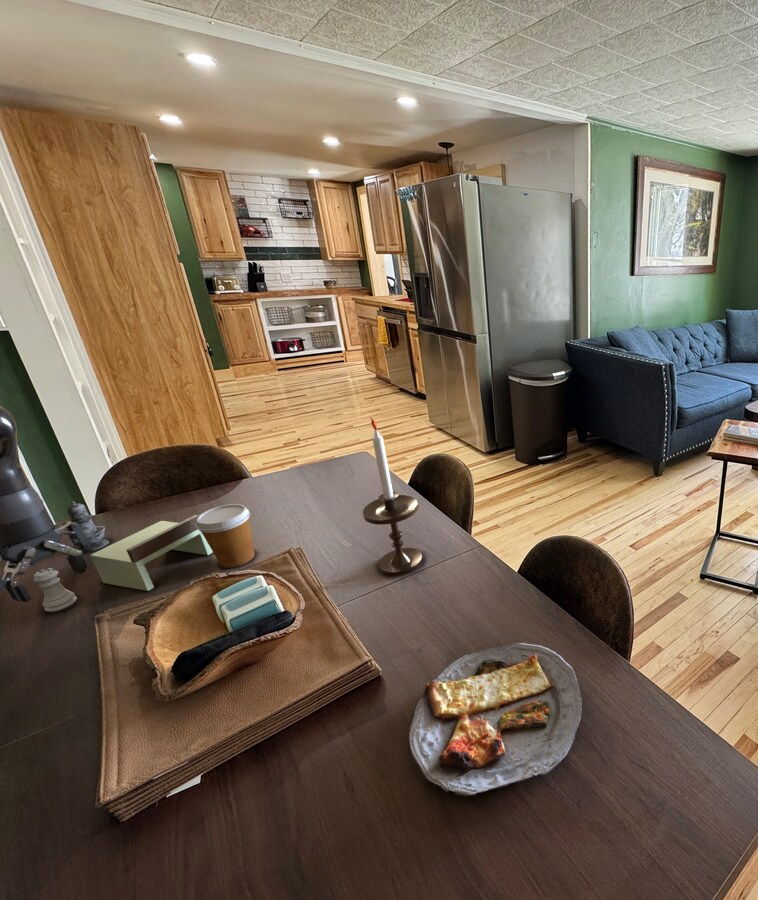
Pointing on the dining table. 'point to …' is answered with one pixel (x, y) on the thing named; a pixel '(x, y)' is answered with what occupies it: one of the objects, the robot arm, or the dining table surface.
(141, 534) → the shelf
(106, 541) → the grey upright piece
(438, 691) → the food plate
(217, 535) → the disposable coffee cup
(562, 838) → the dining table surface
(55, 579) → the rook chess piece
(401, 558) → the candlestick
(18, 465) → the robot arm
